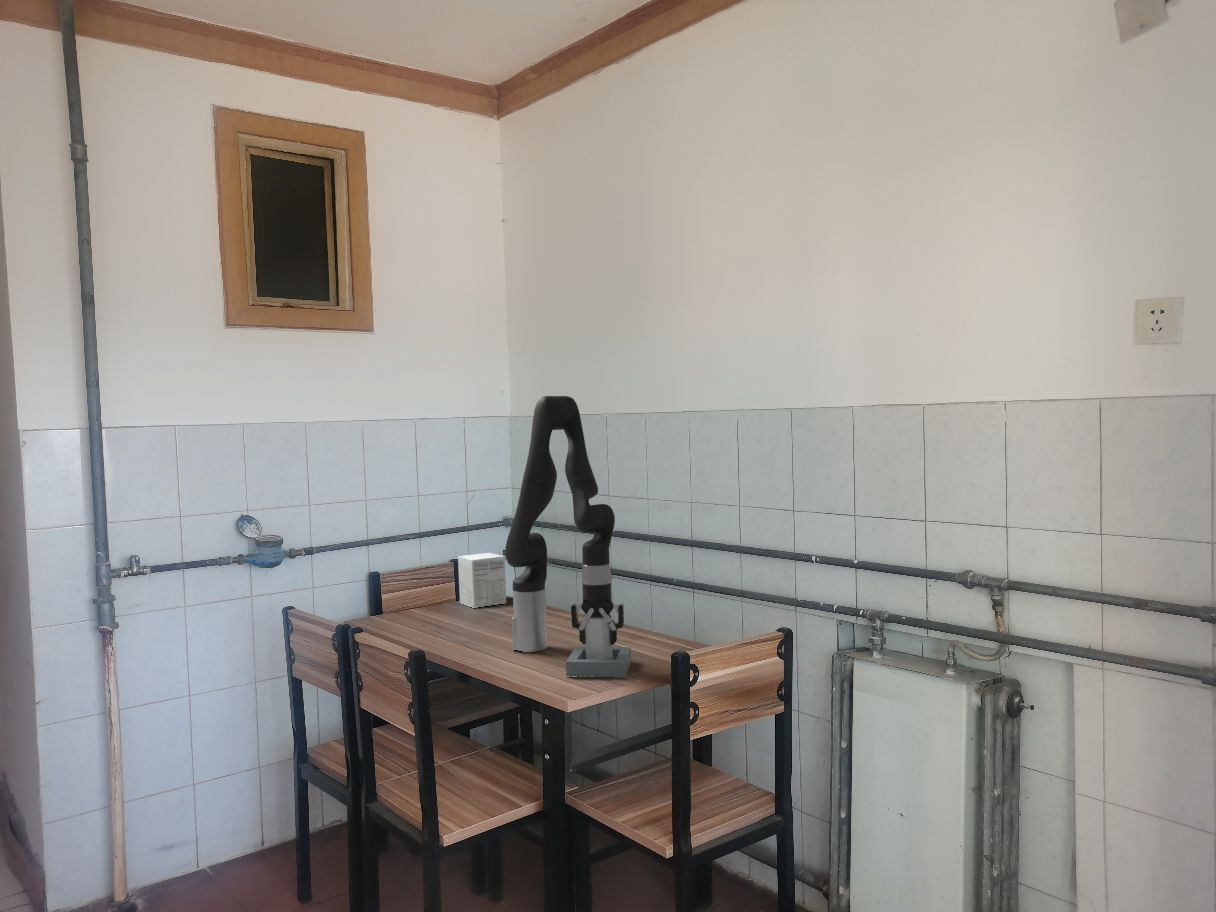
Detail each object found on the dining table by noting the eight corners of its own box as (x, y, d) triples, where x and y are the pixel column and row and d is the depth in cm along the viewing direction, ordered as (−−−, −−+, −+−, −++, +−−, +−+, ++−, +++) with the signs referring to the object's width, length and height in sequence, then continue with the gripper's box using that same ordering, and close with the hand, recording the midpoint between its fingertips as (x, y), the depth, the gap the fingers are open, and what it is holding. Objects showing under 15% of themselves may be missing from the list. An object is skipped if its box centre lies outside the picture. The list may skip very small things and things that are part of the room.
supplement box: (507, 604, 326) (505, 556, 325) (473, 609, 319) (471, 560, 319) (492, 598, 337) (490, 552, 337) (458, 603, 330) (457, 555, 330)
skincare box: (613, 662, 237) (612, 616, 236) (603, 666, 233) (601, 619, 233) (595, 658, 240) (593, 613, 240) (584, 662, 237) (583, 616, 236)
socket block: (566, 677, 230) (565, 661, 230) (576, 661, 245) (575, 647, 245) (624, 677, 228) (624, 662, 228) (631, 661, 243) (630, 647, 243)
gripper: (566, 583, 233) (569, 647, 234) (622, 583, 231) (624, 647, 232) (572, 578, 241) (573, 640, 241) (625, 578, 239) (627, 640, 239)
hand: (598, 643), depth 237 cm, fingers closed on skincare box, 7 cm apart
